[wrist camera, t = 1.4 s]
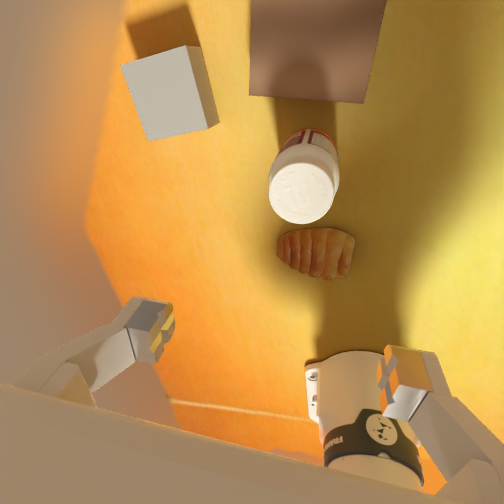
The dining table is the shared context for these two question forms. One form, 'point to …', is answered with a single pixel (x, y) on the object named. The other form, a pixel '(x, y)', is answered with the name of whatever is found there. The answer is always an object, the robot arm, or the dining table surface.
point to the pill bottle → (304, 177)
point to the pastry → (317, 252)
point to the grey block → (172, 92)
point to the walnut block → (313, 48)
